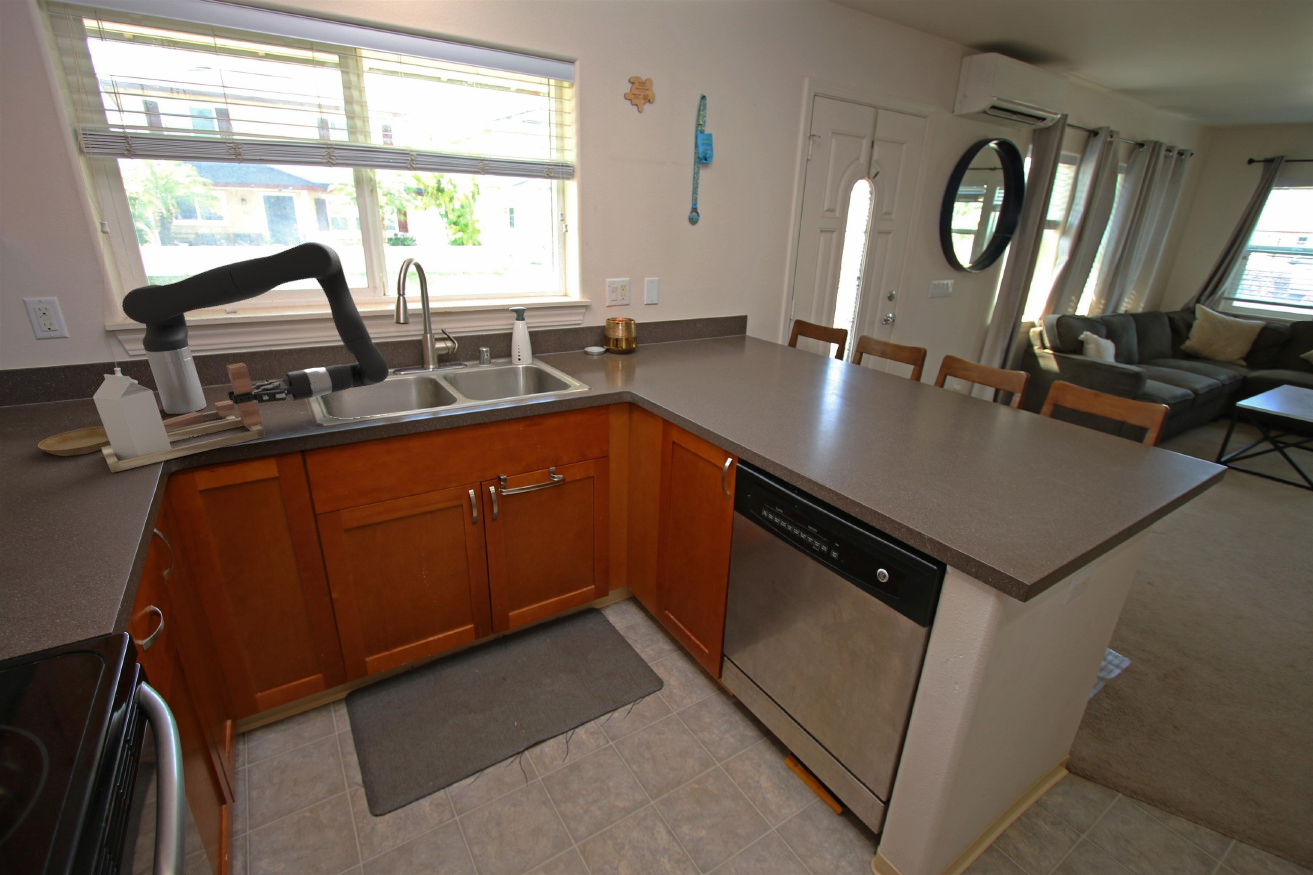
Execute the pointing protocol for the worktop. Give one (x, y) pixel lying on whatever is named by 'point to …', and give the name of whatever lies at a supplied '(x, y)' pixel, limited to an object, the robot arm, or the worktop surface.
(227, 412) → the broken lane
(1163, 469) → the worktop surface
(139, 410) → the milk carton
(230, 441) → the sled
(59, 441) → the plant saucer
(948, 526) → the worktop surface
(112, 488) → the worktop surface
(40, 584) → the worktop surface
